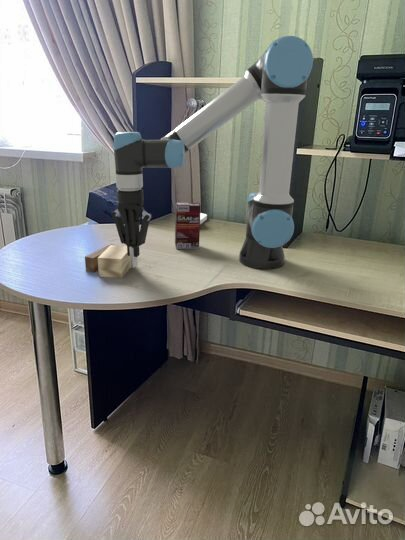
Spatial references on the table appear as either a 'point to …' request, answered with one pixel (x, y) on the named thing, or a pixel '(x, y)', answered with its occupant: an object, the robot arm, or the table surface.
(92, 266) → the walnut rail
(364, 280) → the table surface
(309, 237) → the table surface
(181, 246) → the supplement box
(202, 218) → the white block
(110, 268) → the oak block
